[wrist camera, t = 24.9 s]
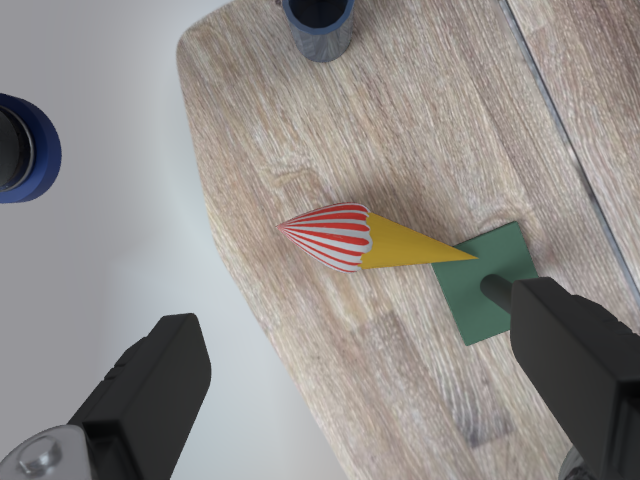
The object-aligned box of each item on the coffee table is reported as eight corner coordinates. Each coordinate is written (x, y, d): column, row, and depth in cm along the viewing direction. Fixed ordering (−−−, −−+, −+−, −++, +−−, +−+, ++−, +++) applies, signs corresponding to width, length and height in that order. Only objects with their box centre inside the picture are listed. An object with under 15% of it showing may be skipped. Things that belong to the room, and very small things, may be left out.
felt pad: (464, 344, 40) (466, 346, 40) (428, 256, 39) (429, 257, 39) (549, 311, 40) (552, 313, 39) (514, 220, 39) (517, 221, 38)
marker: (473, 290, 39) (545, 347, 25) (487, 268, 39) (568, 313, 25) (496, 302, 39) (581, 366, 25) (510, 280, 39) (604, 333, 25)
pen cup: (307, 72, 38) (300, 47, 31) (283, 16, 37) (270, -23, 30) (361, 46, 37) (365, 14, 30) (337, -11, 37) (336, -57, 30)
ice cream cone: (455, 258, 43) (273, 229, 40) (484, 214, 39) (282, 178, 36) (472, 304, 38) (267, 275, 35) (506, 260, 34) (277, 223, 31)
